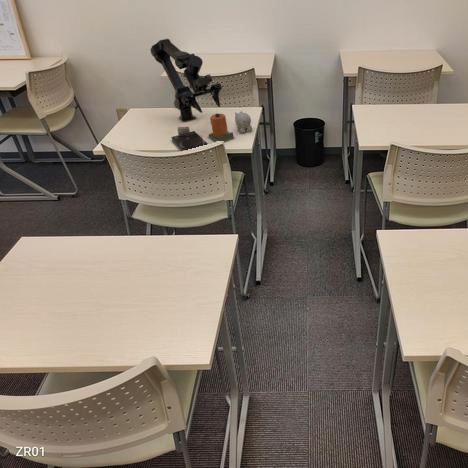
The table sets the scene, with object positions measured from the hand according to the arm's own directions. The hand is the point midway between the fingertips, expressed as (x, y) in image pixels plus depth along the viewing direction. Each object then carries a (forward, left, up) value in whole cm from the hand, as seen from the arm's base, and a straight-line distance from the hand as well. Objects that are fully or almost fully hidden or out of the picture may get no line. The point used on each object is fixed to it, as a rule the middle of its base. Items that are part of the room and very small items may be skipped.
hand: (210, 109), depth 216 cm
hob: (+2, -13, -12) cm, 18 cm away
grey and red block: (-3, -13, -10) cm, 17 cm away
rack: (+5, +1, -12) cm, 13 cm away
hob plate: (+7, -13, -10) cm, 18 cm away
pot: (+5, +1, -10) cm, 11 cm away
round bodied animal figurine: (+2, +13, -12) cm, 18 cm away
